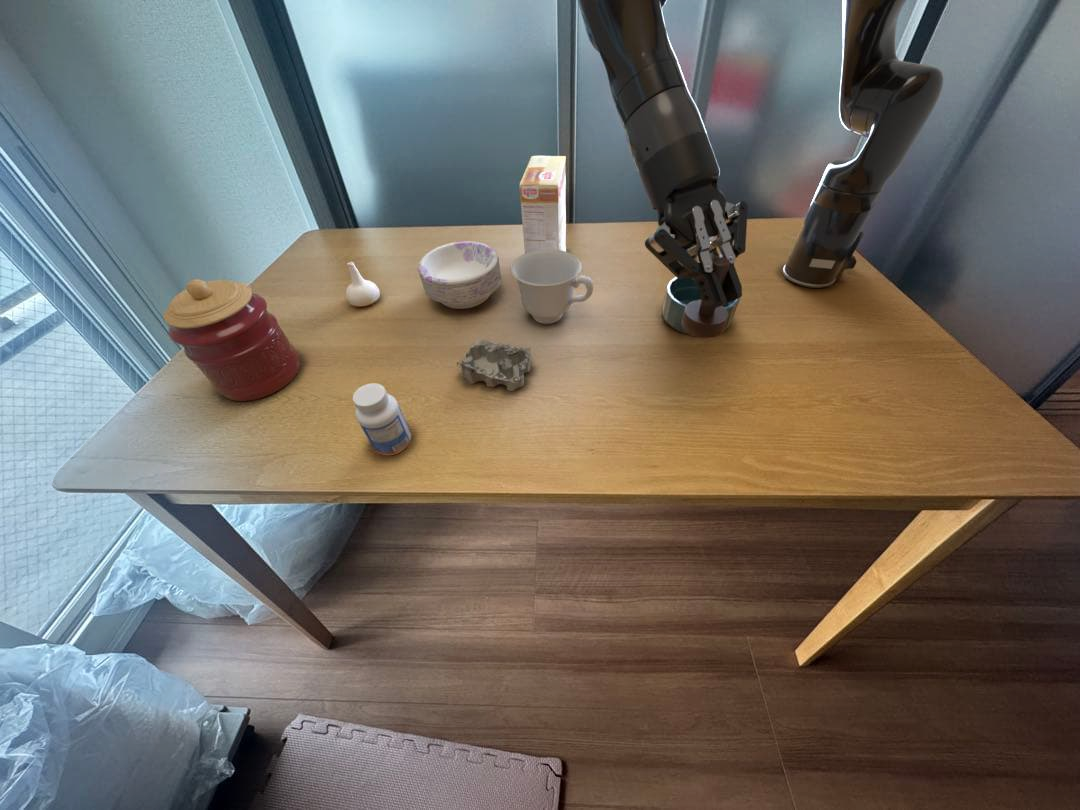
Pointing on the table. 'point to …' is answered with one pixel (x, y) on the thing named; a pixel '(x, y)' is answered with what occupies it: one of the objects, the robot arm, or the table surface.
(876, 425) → the table surface
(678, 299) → the bowl
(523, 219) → the coffeecake box
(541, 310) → the teacup
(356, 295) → the garlic bulb
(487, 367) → the egg carton
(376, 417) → the pill bottle
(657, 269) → the table surface
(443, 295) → the paper bowls
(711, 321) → the coffee tamper
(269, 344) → the kitchen canister
